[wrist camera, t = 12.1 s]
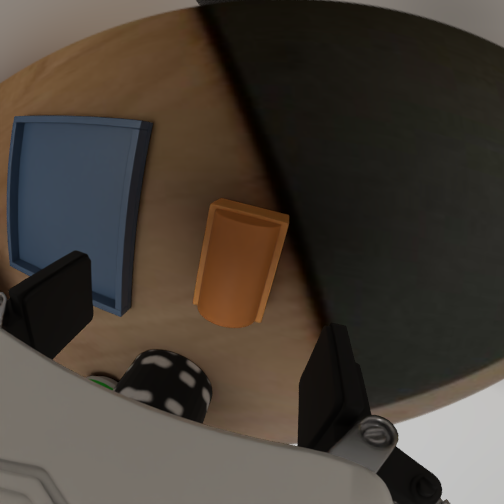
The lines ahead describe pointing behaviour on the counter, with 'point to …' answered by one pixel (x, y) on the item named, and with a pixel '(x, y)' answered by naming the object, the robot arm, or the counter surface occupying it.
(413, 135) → the counter surface
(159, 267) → the counter surface
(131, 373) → the white-spotted black cylinder
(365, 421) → the robot arm
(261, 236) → the orange hollowed block
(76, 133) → the tray
